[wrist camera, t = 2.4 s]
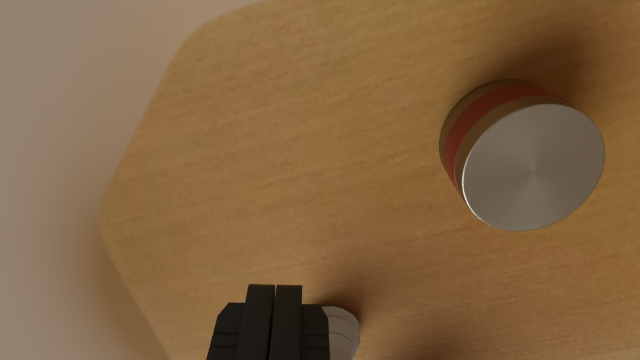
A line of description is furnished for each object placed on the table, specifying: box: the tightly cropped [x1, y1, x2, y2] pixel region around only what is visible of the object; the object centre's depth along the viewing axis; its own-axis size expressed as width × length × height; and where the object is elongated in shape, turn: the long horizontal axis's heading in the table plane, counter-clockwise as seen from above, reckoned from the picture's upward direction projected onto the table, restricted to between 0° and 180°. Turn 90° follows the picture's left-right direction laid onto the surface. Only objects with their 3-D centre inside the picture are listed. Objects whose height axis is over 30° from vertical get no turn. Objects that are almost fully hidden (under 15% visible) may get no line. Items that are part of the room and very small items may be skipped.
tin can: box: [439, 80, 605, 231], centre depth 24 cm, size 7×7×4 cm
